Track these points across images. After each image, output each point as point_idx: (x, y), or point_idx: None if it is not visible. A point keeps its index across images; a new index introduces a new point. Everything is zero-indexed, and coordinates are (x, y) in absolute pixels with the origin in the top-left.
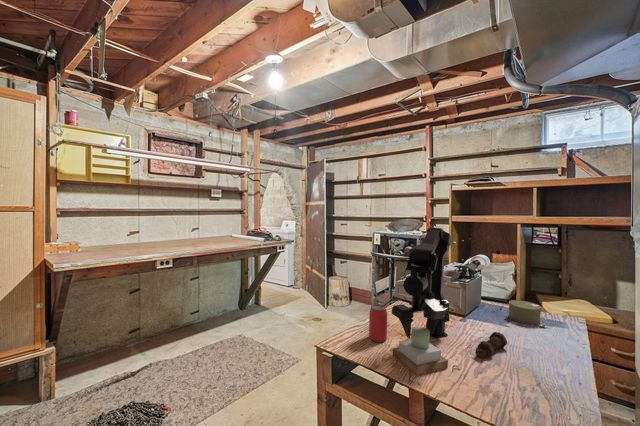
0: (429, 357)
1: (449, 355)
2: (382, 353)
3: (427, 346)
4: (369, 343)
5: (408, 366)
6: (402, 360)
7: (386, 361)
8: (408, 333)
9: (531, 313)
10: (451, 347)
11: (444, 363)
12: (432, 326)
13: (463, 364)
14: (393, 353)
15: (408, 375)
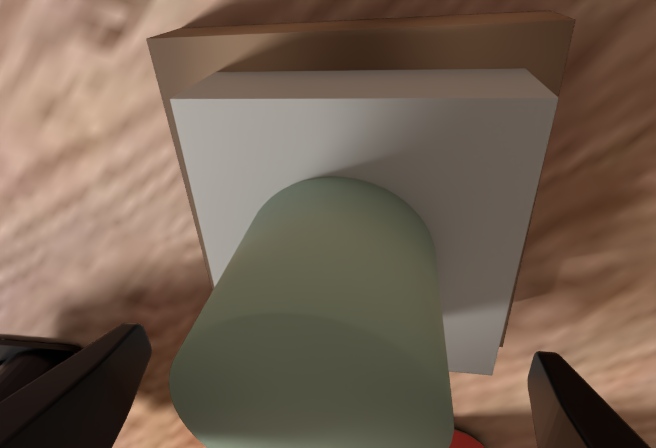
0: (352, 81)
1: (77, 170)
2: (543, 343)
3: (306, 192)
4: (525, 439)
5: None
6: None
7: (610, 265)
8: (627, 424)
9: None
10: (19, 241)
11: (199, 32)
12: (67, 415)
13: (20, 26)
14: None
15: (629, 33)
